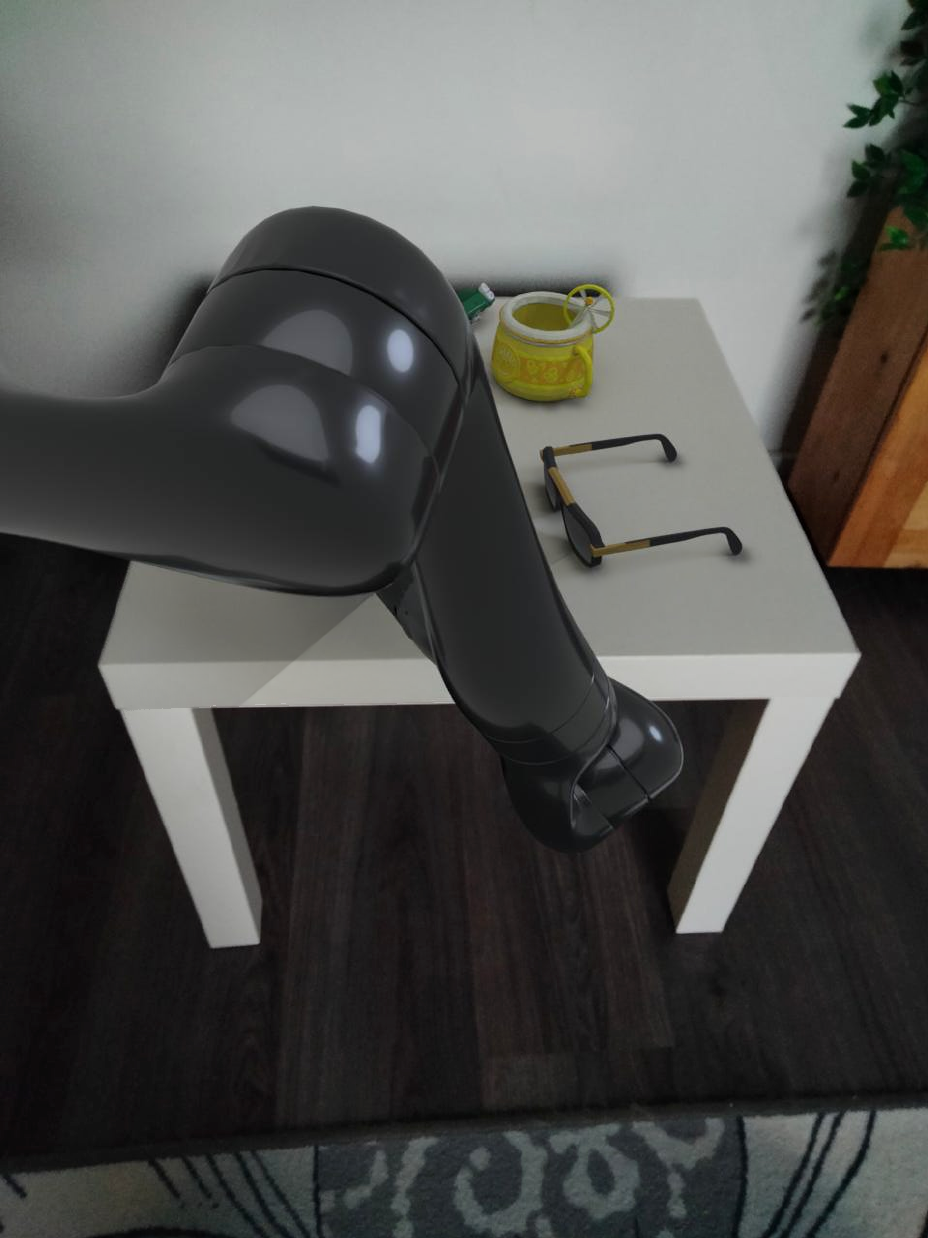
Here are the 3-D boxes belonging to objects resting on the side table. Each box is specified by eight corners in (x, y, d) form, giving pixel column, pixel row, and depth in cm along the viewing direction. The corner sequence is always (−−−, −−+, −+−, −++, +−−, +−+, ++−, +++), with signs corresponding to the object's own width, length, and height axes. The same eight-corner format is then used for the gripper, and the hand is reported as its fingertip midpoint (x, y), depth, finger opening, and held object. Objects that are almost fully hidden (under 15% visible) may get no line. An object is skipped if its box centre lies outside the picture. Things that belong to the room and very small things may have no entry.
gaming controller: (427, 351, 103) (458, 330, 98) (409, 322, 102) (439, 299, 97) (475, 321, 108) (506, 299, 103) (458, 292, 107) (489, 270, 102)
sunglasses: (740, 555, 79) (755, 511, 75) (577, 582, 75) (585, 538, 72) (674, 460, 88) (685, 416, 84) (526, 481, 85) (531, 437, 81)
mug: (468, 374, 97) (473, 266, 88) (544, 344, 102) (556, 239, 93) (545, 431, 90) (559, 321, 81) (623, 397, 95) (644, 289, 86)
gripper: (536, 523, 63) (414, 404, 72) (353, 597, 57) (247, 457, 66) (526, 598, 68) (414, 478, 77) (358, 673, 62) (259, 534, 72)
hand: (337, 469), depth 72 cm, fingers closed on cup, 6 cm apart
